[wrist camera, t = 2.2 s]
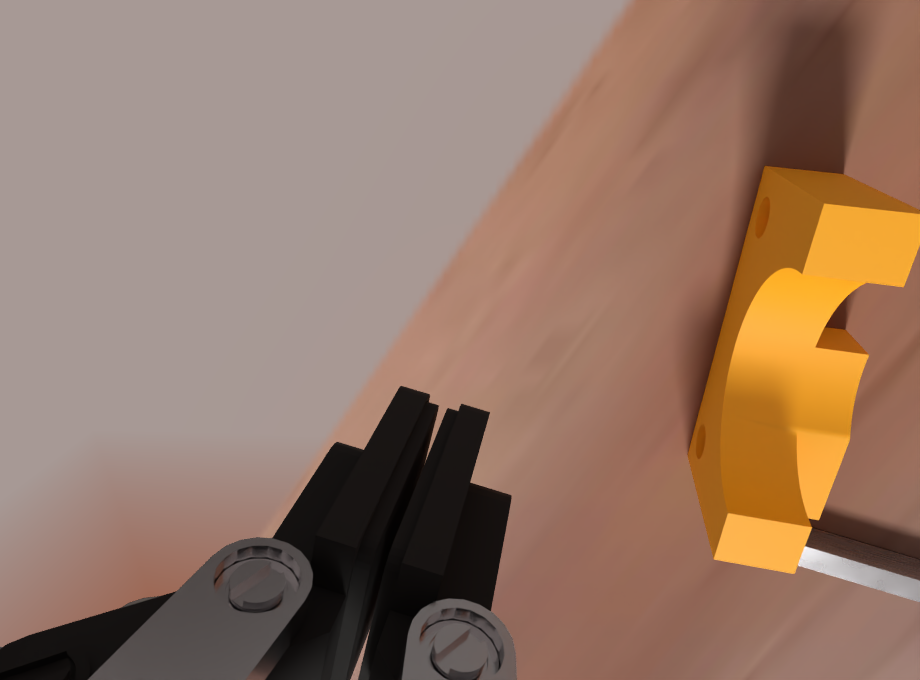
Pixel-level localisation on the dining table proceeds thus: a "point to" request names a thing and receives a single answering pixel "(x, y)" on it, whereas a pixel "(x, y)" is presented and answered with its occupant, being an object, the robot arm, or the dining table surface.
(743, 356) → the pipe clamp
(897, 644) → the dining table surface
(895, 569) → the hinge bracket
